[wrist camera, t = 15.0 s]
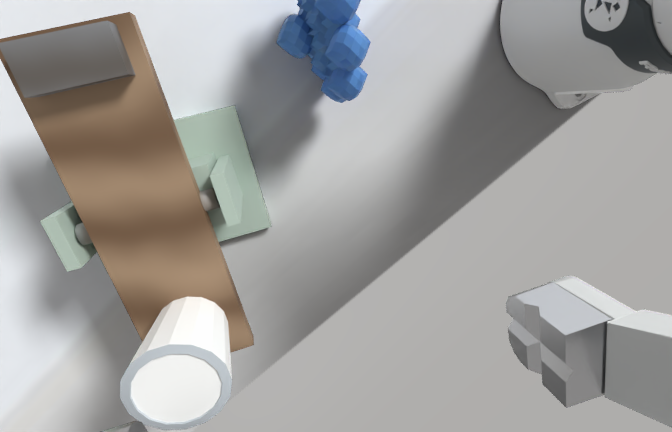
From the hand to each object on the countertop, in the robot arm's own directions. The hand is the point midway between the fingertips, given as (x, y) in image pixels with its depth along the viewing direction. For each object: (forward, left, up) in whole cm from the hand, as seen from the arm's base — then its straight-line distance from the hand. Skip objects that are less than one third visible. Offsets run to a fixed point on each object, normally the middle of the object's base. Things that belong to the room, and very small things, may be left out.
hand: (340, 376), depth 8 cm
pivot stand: (+10, +1, -31) cm, 33 cm away
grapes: (-6, -9, -31) cm, 33 cm away
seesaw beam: (+10, +1, -23) cm, 25 cm away
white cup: (+10, +10, -22) cm, 27 cm away
